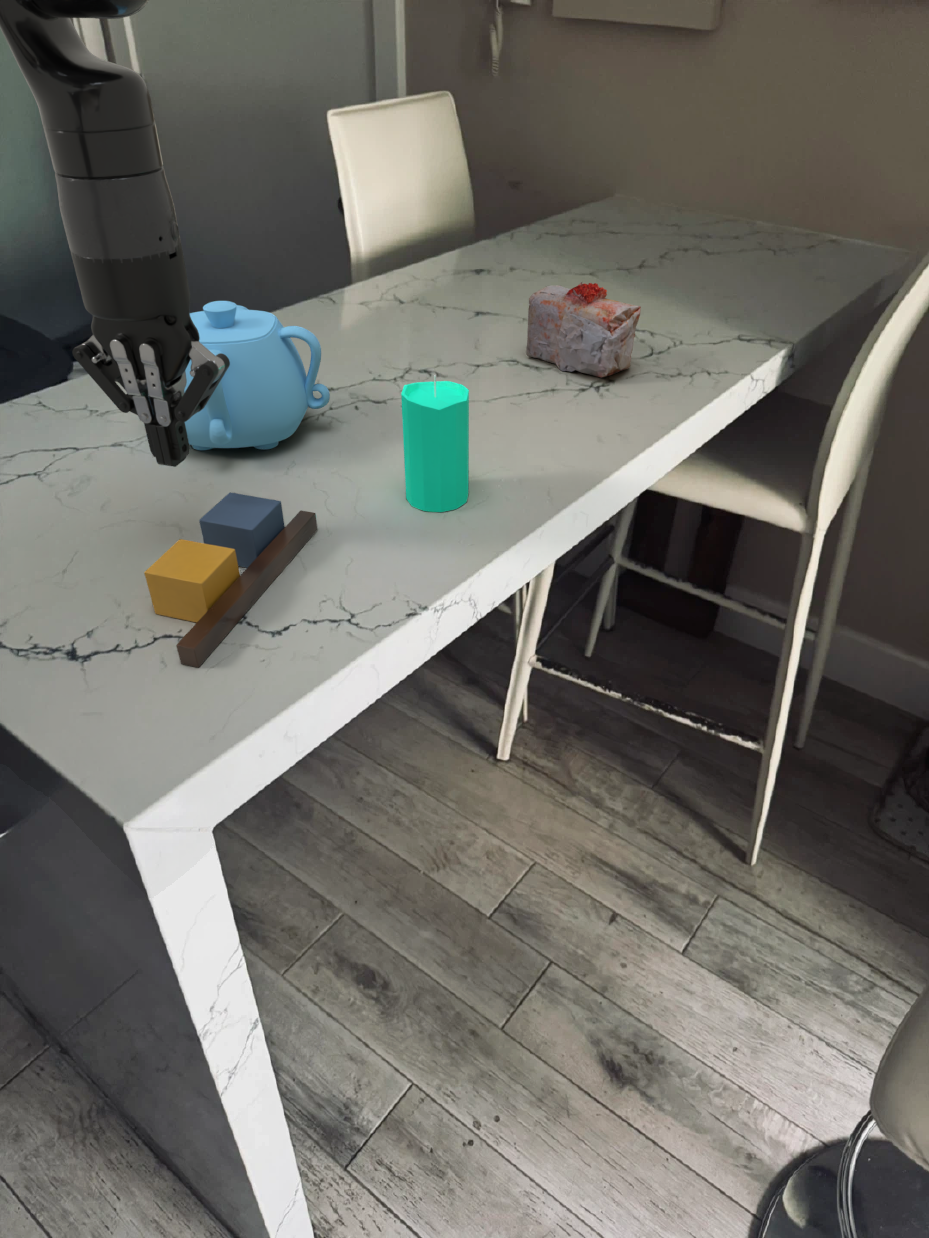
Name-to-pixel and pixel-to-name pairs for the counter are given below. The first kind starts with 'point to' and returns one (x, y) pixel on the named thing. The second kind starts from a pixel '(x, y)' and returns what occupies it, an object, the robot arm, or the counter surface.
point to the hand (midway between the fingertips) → (173, 461)
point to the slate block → (243, 525)
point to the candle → (436, 444)
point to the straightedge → (245, 590)
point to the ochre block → (190, 579)
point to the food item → (581, 329)
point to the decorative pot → (253, 379)
